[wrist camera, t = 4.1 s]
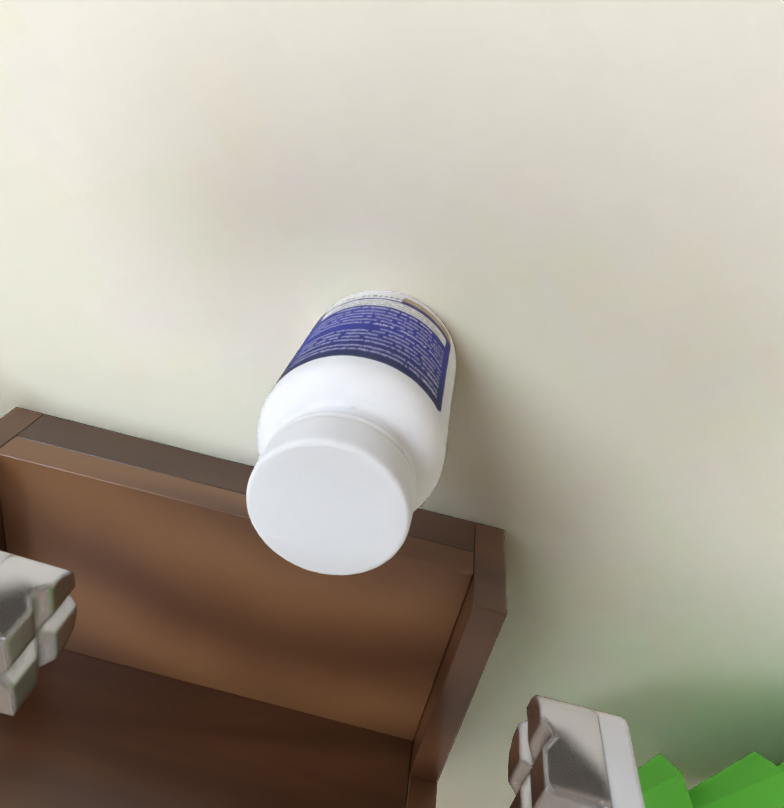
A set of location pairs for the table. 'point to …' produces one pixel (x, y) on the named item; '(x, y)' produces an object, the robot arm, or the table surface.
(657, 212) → the table surface
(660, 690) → the table surface
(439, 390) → the pill bottle
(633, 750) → the robot arm
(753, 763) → the decorative tree
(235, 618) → the shelf
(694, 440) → the table surface
